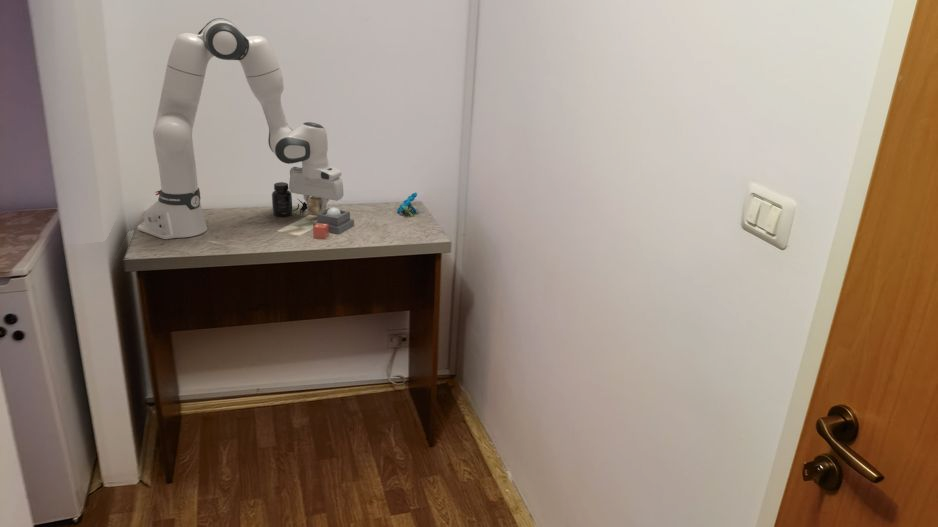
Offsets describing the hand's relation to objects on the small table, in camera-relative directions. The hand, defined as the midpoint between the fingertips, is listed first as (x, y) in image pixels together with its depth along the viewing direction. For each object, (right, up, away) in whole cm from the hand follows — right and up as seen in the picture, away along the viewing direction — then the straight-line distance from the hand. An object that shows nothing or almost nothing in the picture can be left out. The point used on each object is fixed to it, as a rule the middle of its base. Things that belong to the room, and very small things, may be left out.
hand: (316, 208), depth 251 cm
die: (+5, -11, -15) cm, 19 cm away
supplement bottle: (-13, -3, +4) cm, 14 cm away
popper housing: (+7, -8, -6) cm, 12 cm away
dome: (+7, -5, -7) cm, 11 cm away
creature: (-6, -2, +8) cm, 11 cm away
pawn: (0, -2, +1) cm, 2 cm away
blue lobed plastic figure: (+30, -1, +15) cm, 34 cm away
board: (+2, -7, -6) cm, 10 cm away
